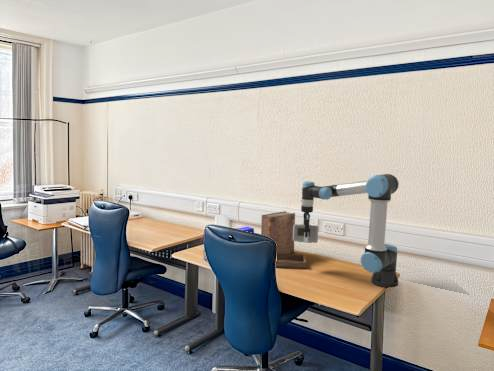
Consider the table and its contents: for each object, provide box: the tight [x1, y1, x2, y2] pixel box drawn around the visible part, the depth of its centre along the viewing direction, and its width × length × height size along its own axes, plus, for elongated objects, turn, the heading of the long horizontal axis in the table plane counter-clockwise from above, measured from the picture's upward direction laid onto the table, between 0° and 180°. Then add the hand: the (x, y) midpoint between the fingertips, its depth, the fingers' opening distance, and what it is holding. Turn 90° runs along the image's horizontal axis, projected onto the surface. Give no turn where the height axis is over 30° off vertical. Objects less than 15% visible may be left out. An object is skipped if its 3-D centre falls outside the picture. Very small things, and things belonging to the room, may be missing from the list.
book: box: [260, 210, 296, 254], centre depth 273 cm, size 25×9×30 cm, turn 131°
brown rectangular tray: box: [275, 253, 307, 270], centre depth 255 cm, size 17×21×4 cm
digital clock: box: [293, 223, 319, 244], centre depth 245 cm, size 16×9×11 cm, turn 67°
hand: (305, 240), depth 246 cm, fingers closed on digital clock, 7 cm apart
